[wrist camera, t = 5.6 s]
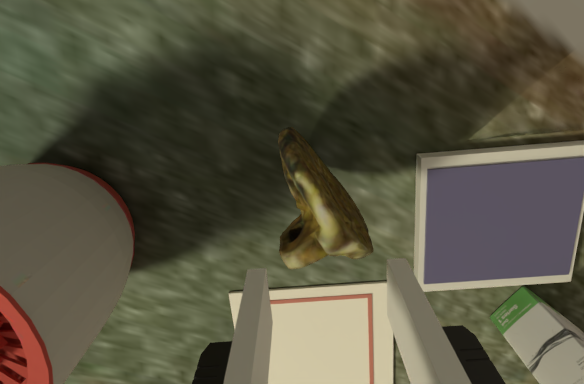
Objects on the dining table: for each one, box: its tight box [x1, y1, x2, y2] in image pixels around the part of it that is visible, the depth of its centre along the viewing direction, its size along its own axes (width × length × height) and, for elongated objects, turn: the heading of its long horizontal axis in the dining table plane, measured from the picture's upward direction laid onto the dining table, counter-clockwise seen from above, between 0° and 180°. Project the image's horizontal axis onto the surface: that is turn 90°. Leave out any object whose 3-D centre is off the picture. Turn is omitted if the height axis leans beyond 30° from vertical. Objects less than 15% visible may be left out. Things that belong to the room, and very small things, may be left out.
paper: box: [229, 281, 393, 384], centre depth 41 cm, size 16×16×1 cm
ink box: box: [490, 286, 584, 384], centre depth 34 cm, size 9×5×12 cm, turn 52°
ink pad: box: [414, 140, 584, 292], centre depth 34 cm, size 13×14×2 cm
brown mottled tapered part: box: [278, 127, 373, 269], centre depth 27 cm, size 9×5×15 cm, turn 44°
